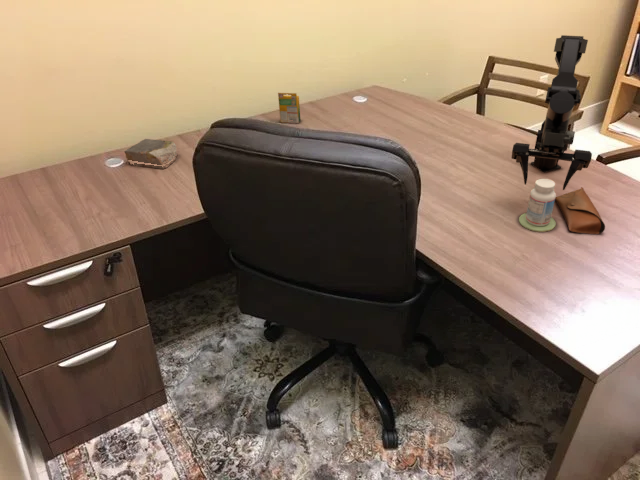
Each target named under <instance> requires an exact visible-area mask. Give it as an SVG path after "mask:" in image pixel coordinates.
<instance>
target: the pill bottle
mask: <svg viewBox="0 0 640 480" xmlns="http://www.w3.org/2000/svg"><path fill="white" fill-rule="evenodd" d="M555 188H556V182H555V181H554V180H552V179H550V178H539V179H536V180H535V182H534V187H533V188H532V189H531V190H530V194H529V198H528V203H527V209H526V212H525V213H526V220H527V221H528V222H529V223H530V224H532V225H535V226H545V225H547V224H549V223H550V220H551V217H552V215H553V210H554V206H555V203H556V201H555V197H557V194H556V191H555Z"/></svg>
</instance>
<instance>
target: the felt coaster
mask: <svg viewBox="0 0 640 480" xmlns="http://www.w3.org/2000/svg"><path fill="white" fill-rule="evenodd" d="M526 213H527V212H524V213H522V214H521V215H520V216H519V217H518V223H519V224H520V225H521V226H522V227H524V228H525V229H527V230H529V231H532V232H539V233H544V232H549V231H552V230H554V229H555V227H556V225H557V223H556V221H555V219H554V218H553V217H552V216H551V220H550V223H549V224H547V225H545V226H535V225H532V224H530V223H529V222H528V221H527V220H526Z"/></svg>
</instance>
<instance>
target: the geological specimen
mask: <svg viewBox="0 0 640 480" xmlns="http://www.w3.org/2000/svg"><path fill="white" fill-rule="evenodd" d="M124 154H125V158H126V159H127V161H128V160H132V161H138V162H144V163H151V164H157V165H163V164H166V163H168V162H169V161H171V160H172V159H173V158H174V157H175V159H173V161H171V162H170V163H169V164H166V165H165V166H163V167H162V166H154V165H145V164H137V163H134V165H132V166H135V165H136V166H135V167H145V168H154V169H161V170H165V169H167V168H168V167H170V165H172V164H174V162H176V159H177V158H178V153H177V144H176V143H175V141H174V140H173V141H172V140H161V139H151V138H144V139H142V140H140V141H139V142H137V143H136V144H134V145H131V146H130V147H129V148H127V149H126V150H125V149H124ZM175 155H176V156H175Z"/></svg>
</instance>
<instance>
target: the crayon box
mask: <svg viewBox="0 0 640 480" xmlns="http://www.w3.org/2000/svg"><path fill="white" fill-rule="evenodd" d="M277 97H278V98H277V99H278V108H279V109H278V110H279V121H280V123H281V124H282V123H289V124H299V123H300V122H301V107H300V106H301V105H300V96H299V95H298V94H297V93H296V92H278V93H277ZM289 120H293V121H289Z"/></svg>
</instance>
